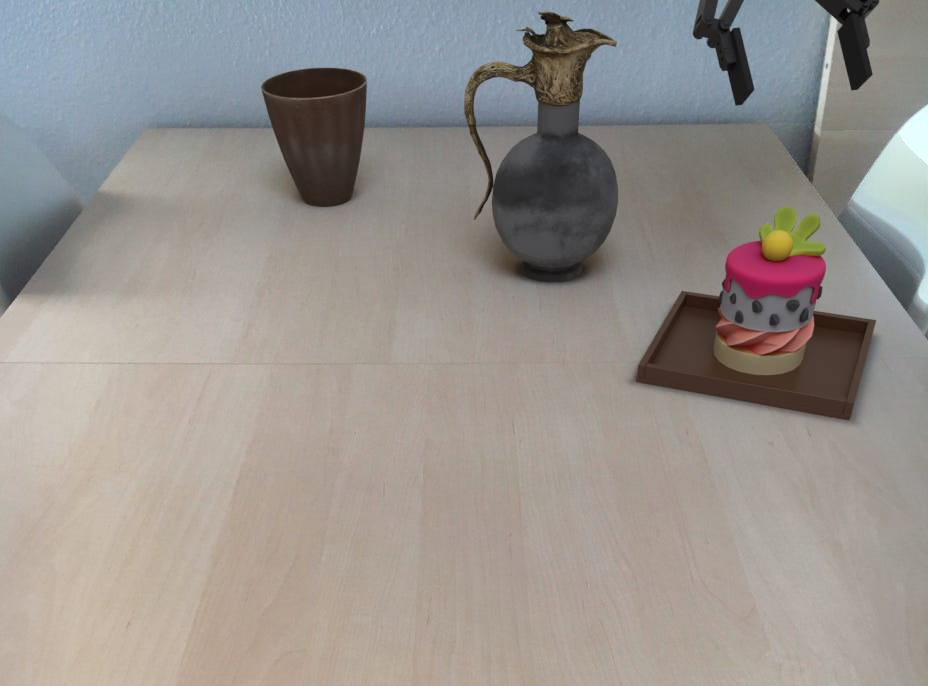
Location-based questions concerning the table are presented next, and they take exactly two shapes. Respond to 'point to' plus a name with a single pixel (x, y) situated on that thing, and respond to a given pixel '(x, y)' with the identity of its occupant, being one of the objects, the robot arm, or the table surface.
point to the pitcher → (550, 159)
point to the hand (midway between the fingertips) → (804, 90)
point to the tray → (803, 389)
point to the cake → (770, 297)
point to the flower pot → (319, 129)
